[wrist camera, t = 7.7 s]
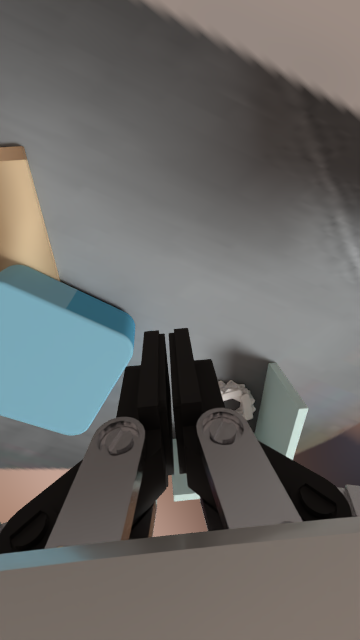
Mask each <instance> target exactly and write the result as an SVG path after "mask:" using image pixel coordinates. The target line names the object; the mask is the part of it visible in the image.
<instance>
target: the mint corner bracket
mask: <svg viewBox="0 0 360 640" xmlns="http://www.w3.org/2000/svg"><path fill="white" fill-rule="evenodd" d="M218 384H219V388H220V391H221V395H222V398H223V401H225V400H229V399H235V400H237V401H239V402H241V403H240V407H239V408H238V409H236V410H235V411H236V412H238V413H239V414H241V415H242V416H243V417H244V418H245V419H246V420H250V419H252V418H253V414H252V413H253V412H254V411H255V410H256V408H255V407H254V405H253V403H254V402H255V400H254V398H253V396H252V395H251V394H250V390H248V389H247V388H245V384H236V383H235V382H233V381H232V380H230V381H229V382H228V383H227V384H225V383H224V382H222V381H221V380H220V381H219V382H218ZM307 411H308V407H307V406H306V404H305V403H304V401H303V400H302V398H301V397H300V396H299V394H298V393H297V391H296V390H295V389H294V387H293V386H292V384H291V383H290V381H289V380H288V379H287V377H286V376H285V374H284V373H283V372H282V370H281V369H280V367H279V366H278V364H277V363H269V364H268V369H267V374H266V379H265V384H264V389H263V394H262V399H261V405H260V410H259V415H258V420H257V425H256V430H255V433H254V435H255V436H256V438H257V440H258V441H260V442H262V443H264V444H265V445H267V446H269V447H271V448H272V449H274V450H276V451H278V452H279V453H281V454H283V455H285V456H286V457H288V458H290V459H292V460H293V457H294V454H295V450H296V447H297V444H298V441H299V437H300V434H301V431H302V428H303V424H304V421H305V418H306V414H307ZM173 457H174V475H172V484H173V495H174V501H183V500H193V499H200V496H199V495H198V494H196V493H195V492H194V491H193V490H191V489H190V488H189V487H188V485H187V475H186V474H180V473H179V462H178V452H177V442H176V439H173Z"/></svg>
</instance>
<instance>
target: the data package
mask: <svg viewBox="0 0 360 640" xmlns="http://www.w3.org/2000/svg"><path fill="white" fill-rule="evenodd" d="M134 336H135V323H134V320H133V319H132V317H131V316H130V315H129V314H127V313H125V312H123V311H121V310H119V309H117V308H115V307H113V306H111V305H109V304H106V303H104V302H102V301H100V300H98V299H96V298H94V297H92V296H89V295H87V294H85V293H83V292H81V291H79V290H77V289H75V288H72V287H70V286H68V285H66V284H64V283H62V282H60V281H57V280H55V279H53V278H51V277H49V276H47V275H45V274H43V273H40V272H38V271H36V270H34V269H32V268H30V267H27V266H24V265H12V266H9V267H7V268H6V269H4V270H2V271H1V272H0V415H1V416H4V417H8V418H11V419H14V420H18V421H21V422H24V423H28V424H31V425H35V426H38V427H41V428H45V429H48V430H51V431H55V432H58V433H61V434H65V435H78V434H81V433H83V432H85V431H86V430H87V429H88V428H89V426H90V425H91V423H92V421H93V420H94V418H95V416H96V415H97V413H98V411H99V410H100V408H101V407H102V405H103V403H104V402H105V400H106V398H107V397H108V395H109V393H110V392H111V390H112V388H113V387H114V385H115V383H116V382H117V380H118V379H119V377H120V375H121V374H122V372H123V370H124V369H125V367H126V365H127V364H128V362H129V360H130V359H131V357H132V355H133V349H134Z"/></svg>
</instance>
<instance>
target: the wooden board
mask: <svg viewBox="0 0 360 640" xmlns="http://www.w3.org/2000/svg"><path fill="white" fill-rule="evenodd" d="M12 265H24V266H27V267H30V268H32V269H34V270H36V271H38V272H40V273H43V274H45V275H47V276H49V277H51V278H53V279H55V280H57V281H60V278H59V274H58V271H57V267H56V263H55V260H54V256H53V252H52V249H51V245H50V241H49V238H48V234H47V230H46V227H45V223H44V219H43V216H42V212H41V208H40V205H39V201H38V197H37V194H36V190H35V186H34V183H33V179H32V175H31V172H30V168H29V165H28V161H27V157H26V154H25V150H24V147H22V146H16V147H0V272H1V271H2V270H4V269H6V268H7V267H9V266H12Z"/></svg>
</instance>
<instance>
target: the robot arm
mask: <svg viewBox="0 0 360 640" xmlns="http://www.w3.org/2000/svg"><path fill="white" fill-rule="evenodd" d="M169 346H170V364H171V382H172V399H173V412H174V422H175V432H176V442H177V452H178V462H179V473H180V474H186V475H187V485H188V487H189V488H190V489H191V490H193V491H194V492H195V493H196V494H198V495H199V496H200V503H201V506H202V510H203V514H204V518H205V521H206V525H207V529H208V531H207V532H198V533H188V534H178V535H169V536H160V537H152V536H153V529H154V522H155V515H156V509H157V499H158V497H159V496H160V495H161V494H162V493H163V492H164V491H165V489H166V487H168V475H174V457H173V436H172V415H171V395H170V383H169V374H168V364H167V354H166V344H165V334H159V330H158V331H147V332H144V341H143V351H142V361H141V365H139V366H128V367H126V368H125V372H124V378H123V383H122V389H121V394H120V400H119V405H118V411H117V416H116V418H114V419H111V420H109V421H107V422H106V423H104V424H103V425H102V426H100V427H99V428H98V429H97V431H96V432H95V434H94V436H93V437H92V440H91V442H90V444H89V447H88V449H87V451H86V454H85V456H84V458H83V460H81V461H80V462H79V463H78V464H76V465H75V466H74V467H73V468H71V469H70V470H69V471H68V472H66V473H65V474H64V475H63V476H61V477H60V478H59V479H58V480H56V481H55V482H54V483H53V484H52V485H50V486H49V487H48V488H46V489H45V490H44V491H43V492H42V493H40V494H39V495H38V496H36V497H35V498H34V499H33V500H31V501H30V502H29V503H28V504H26V505H25V506H24V507H23V508H22V509H20V510H19V511H18V512H17V513H16V514H15V515H14V516H13V517H12V518H11V519H10V520H9V521H8V522H6V523H3V524H1V523H0V640H360V486H353V485H346V486H345V489H344V488H337V487H336V486H335V485H333V484H332V483H331V482H329V481H328V480H326V479H325V478H323V477H321V476H320V475H318V474H316V473H314V472H312V471H311V470H309V469H307V468H305V467H304V466H302V465H300V464H298V463H297V462H295V461H293V460H292V459H290V458H288V457H286V456H285V455H283V454H281V453H279V452H278V451H276V450H274V449H272V448H271V447H269V446H267V445H265V444H264V443H262V442H260V441H258V440H257V438H256V436H255V435H254V433H253V431H252V429H251V427H250V426H249V424H248V422H247V421H246V419H245V418H244V417H243V416H242V415H241V414H239V413H238V412H236V411H234V410H231V409H228V408H225V405H224V402H223V398H222V395H221V391H220V388H219V384H218V381H217V377H216V373H215V370H214V366H213V363H212V360H211V359H207V360H195V361H194V359H193V353H192V348H191V342H190V337H189V332H188V328H182V329H174V333H169Z"/></svg>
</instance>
